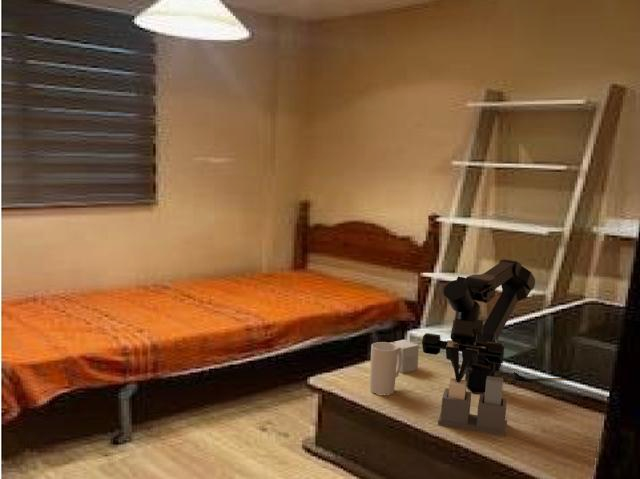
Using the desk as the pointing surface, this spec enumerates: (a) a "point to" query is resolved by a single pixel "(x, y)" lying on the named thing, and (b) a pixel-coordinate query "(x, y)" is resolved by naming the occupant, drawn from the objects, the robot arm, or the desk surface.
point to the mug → (384, 367)
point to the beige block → (457, 389)
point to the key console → (484, 421)
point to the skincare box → (408, 355)
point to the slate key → (493, 390)
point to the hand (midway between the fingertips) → (458, 381)
